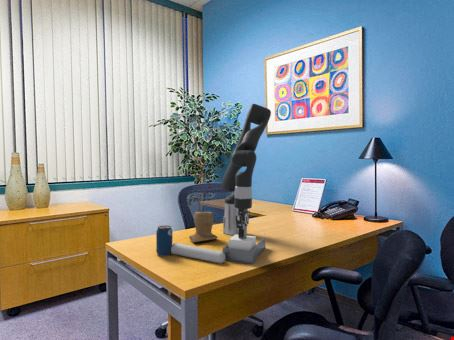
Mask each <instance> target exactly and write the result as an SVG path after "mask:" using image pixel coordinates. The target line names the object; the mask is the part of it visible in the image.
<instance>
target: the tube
mask: <svg viewBox="0 0 454 340" xmlns="http://www.w3.org/2000/svg"><path fill="white" fill-rule="evenodd" d="M171 254H172V255H176V256H180V257H185V258H186V257H187V258H191V259H196V260H200V261H206V262H211V263H216V264H223V263H224V262H226V261H225V259H226V258H225V254H224V253H223V252H222V251H220V250H215V249H210V248H205V247H199V246H193V245H188V244H184V243H178V242H174V243H173V242H172V248H171Z"/></svg>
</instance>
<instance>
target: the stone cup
mask: <svg viewBox="0 0 454 340" xmlns="http://www.w3.org/2000/svg"><path fill="white" fill-rule="evenodd" d="M193 222H194V225H195V233H194V234H191V235H189V237H188V239H189V240H190V241H191V243H200V242H206V241H212V240H216V239H218V238H219V237H218V236H217V235H215V234H213V232H212V230H213V225H214V213H213V212H212V211H195V212H194V215H193Z"/></svg>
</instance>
